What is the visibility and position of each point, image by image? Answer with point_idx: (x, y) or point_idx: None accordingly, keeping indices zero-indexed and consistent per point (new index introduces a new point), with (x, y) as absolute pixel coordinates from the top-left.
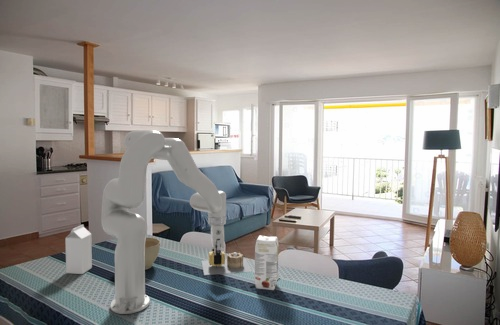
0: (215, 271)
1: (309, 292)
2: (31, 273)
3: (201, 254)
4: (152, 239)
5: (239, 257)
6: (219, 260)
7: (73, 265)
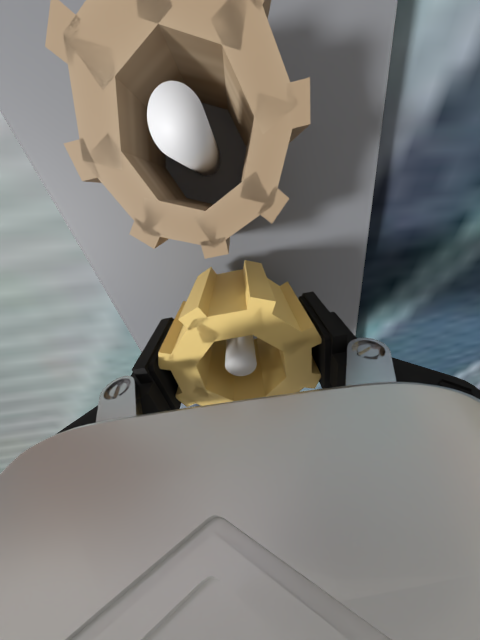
0: None
1: None
2: None
3: (39, 384)
4: None
5: (269, 33)
6: (341, 322)
7: None
